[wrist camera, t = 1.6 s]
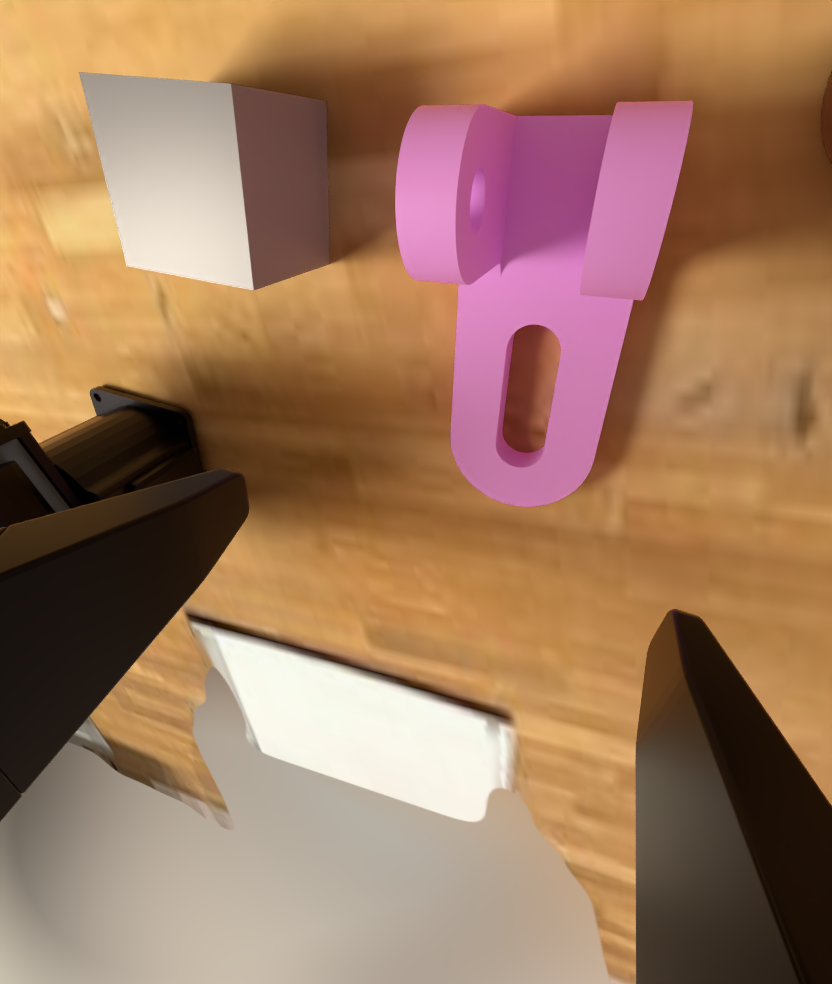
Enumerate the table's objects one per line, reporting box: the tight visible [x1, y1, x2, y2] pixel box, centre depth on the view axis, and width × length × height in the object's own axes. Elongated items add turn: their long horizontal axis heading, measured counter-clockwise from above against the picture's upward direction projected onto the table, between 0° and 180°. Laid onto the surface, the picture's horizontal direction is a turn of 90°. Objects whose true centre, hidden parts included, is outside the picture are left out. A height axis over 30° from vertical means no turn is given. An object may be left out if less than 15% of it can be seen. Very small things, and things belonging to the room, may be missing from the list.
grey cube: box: [79, 72, 330, 290], centre depth 16 cm, size 5×5×5 cm
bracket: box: [395, 101, 693, 507], centre depth 15 cm, size 13×6×7 cm, turn 179°
